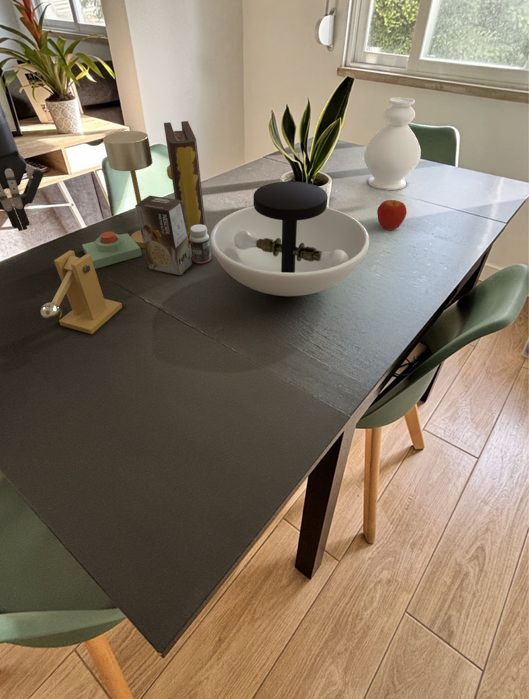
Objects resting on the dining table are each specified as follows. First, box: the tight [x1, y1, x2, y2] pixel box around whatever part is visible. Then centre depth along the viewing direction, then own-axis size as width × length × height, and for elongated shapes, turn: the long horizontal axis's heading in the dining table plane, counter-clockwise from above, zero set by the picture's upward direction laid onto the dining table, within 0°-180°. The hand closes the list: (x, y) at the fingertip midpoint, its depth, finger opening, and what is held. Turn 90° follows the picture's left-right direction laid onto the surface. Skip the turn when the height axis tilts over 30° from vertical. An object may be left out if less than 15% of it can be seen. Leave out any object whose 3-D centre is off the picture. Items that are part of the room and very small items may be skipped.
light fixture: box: [209, 181, 370, 297], centre depth 91 cm, size 33×33×21 cm
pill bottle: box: [189, 224, 212, 264], centre depth 105 cm, size 5×5×8 cm
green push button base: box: [81, 232, 143, 270], centre depth 108 cm, size 12×10×4 cm
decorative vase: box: [363, 96, 422, 191], centre depth 137 cm, size 18×18×25 cm
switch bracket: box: [53, 250, 123, 335], centre depth 85 cm, size 10×8×14 cm
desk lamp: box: [102, 130, 153, 249], centre depth 106 cm, size 10×10×26 cm
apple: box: [376, 199, 407, 231], centre depth 117 cm, size 8×8×8 cm
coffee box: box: [134, 195, 193, 276], centre depth 99 cm, size 9×6×16 cm
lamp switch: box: [39, 256, 81, 323], centre depth 80 cm, size 13×4×4 cm, turn 158°
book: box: [163, 120, 206, 245], centre depth 114 cm, size 22×8×25 cm, turn 14°
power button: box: [99, 231, 117, 244], centre depth 107 cm, size 4×4×2 cm
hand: (22, 228), depth 76 cm, fingers closed
